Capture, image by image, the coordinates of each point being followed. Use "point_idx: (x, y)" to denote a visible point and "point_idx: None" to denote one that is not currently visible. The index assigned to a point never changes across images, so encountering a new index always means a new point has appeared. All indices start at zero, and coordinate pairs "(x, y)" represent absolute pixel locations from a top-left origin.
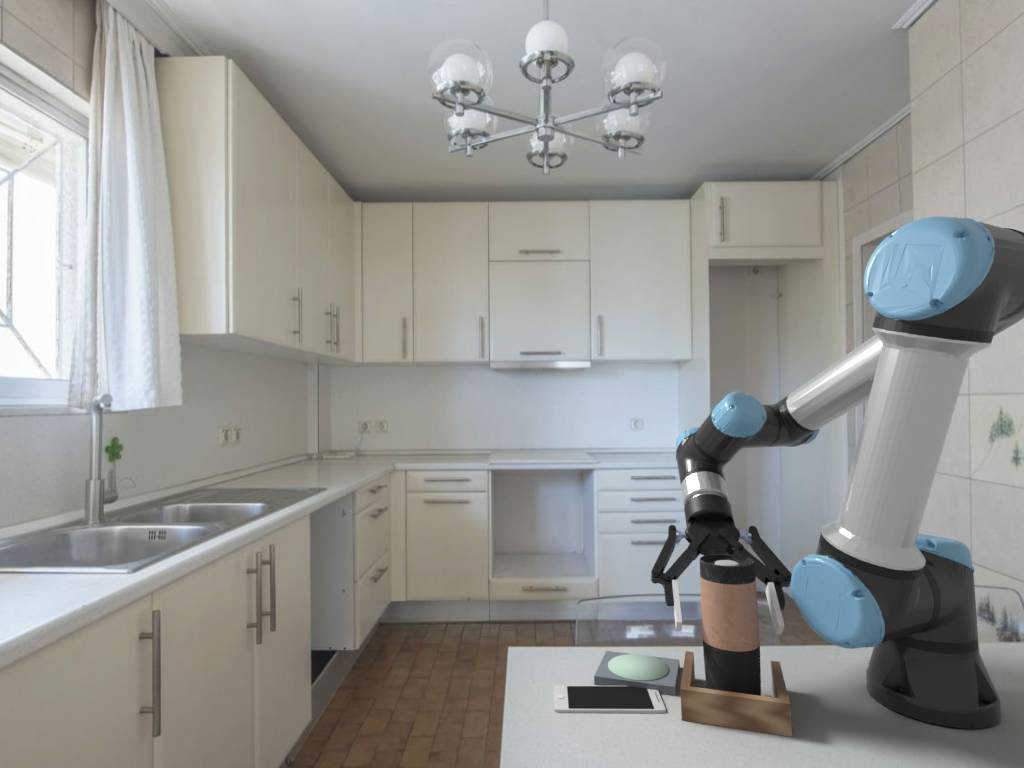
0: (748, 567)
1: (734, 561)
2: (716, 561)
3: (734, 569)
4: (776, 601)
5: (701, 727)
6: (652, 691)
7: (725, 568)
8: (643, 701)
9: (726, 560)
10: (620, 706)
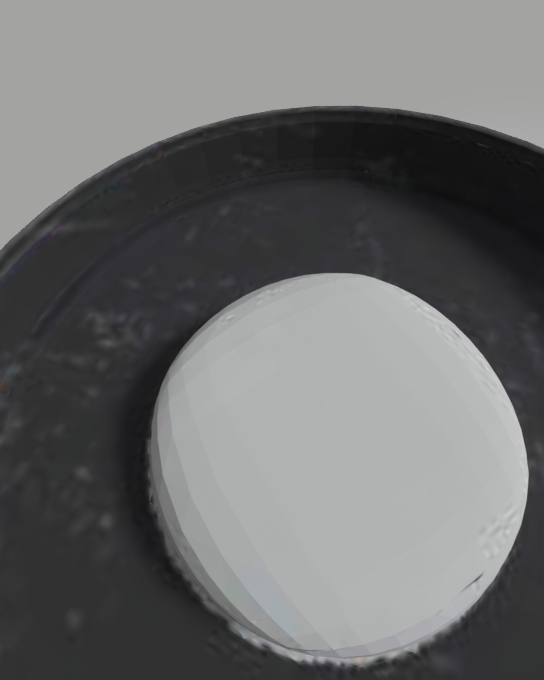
0: (61, 221)
1: (209, 516)
2: (504, 422)
3: (224, 149)
4: None
5: None
6: None
7: (315, 130)
8: None
9: (353, 544)
10: None
